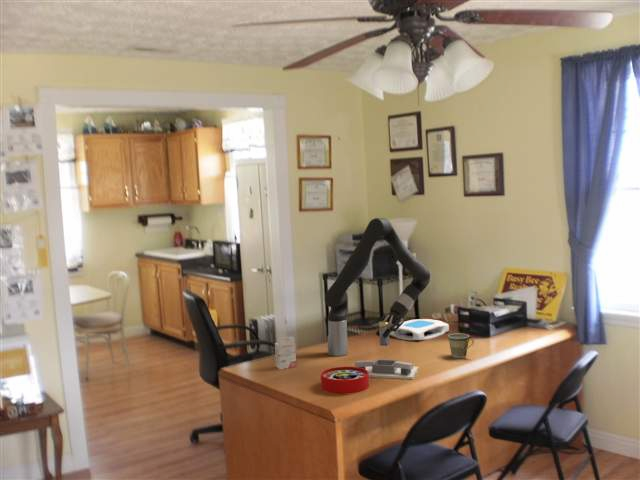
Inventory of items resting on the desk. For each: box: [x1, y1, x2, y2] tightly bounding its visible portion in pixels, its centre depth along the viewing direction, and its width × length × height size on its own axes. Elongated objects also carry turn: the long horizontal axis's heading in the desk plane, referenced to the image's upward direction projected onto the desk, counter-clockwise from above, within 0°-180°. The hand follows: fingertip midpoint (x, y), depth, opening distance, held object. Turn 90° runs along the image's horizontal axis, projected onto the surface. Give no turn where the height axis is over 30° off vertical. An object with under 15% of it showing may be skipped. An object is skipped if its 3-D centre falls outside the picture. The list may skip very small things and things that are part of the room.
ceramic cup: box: [447, 333, 474, 359], centre depth 316 cm, size 13×10×10 cm
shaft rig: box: [354, 358, 419, 380], centre depth 294 cm, size 27×16×6 cm, turn 73°
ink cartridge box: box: [274, 335, 297, 370], centre depth 309 cm, size 9×5×15 cm, turn 117°
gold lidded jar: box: [378, 321, 391, 347], centre depth 293 cm, size 4×4×10 cm
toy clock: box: [320, 366, 370, 395], centre depth 277 cm, size 20×6×20 cm
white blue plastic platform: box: [389, 318, 450, 342], centre depth 365 cm, size 21×28×6 cm
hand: (380, 336), depth 292 cm, fingers closed on gold lidded jar, 4 cm apart
